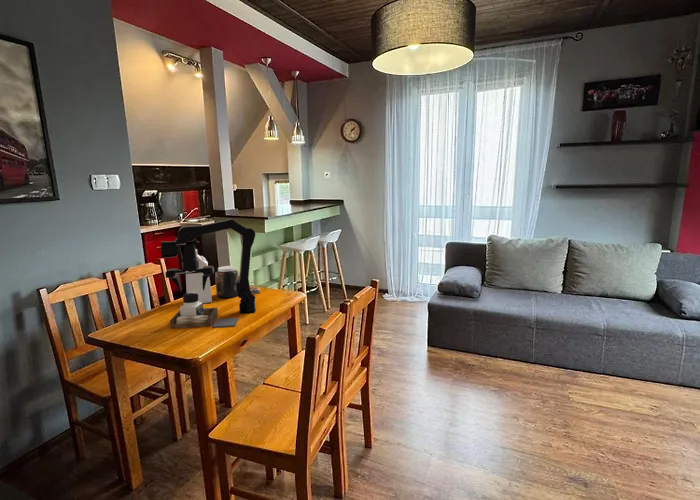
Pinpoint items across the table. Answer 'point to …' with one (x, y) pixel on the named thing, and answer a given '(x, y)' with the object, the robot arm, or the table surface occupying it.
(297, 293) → the table surface
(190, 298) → the medicine bottle
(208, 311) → the walnut rack
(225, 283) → the jar
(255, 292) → the house of cards
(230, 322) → the rubber mat
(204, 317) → the offcut stack
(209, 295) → the milk
